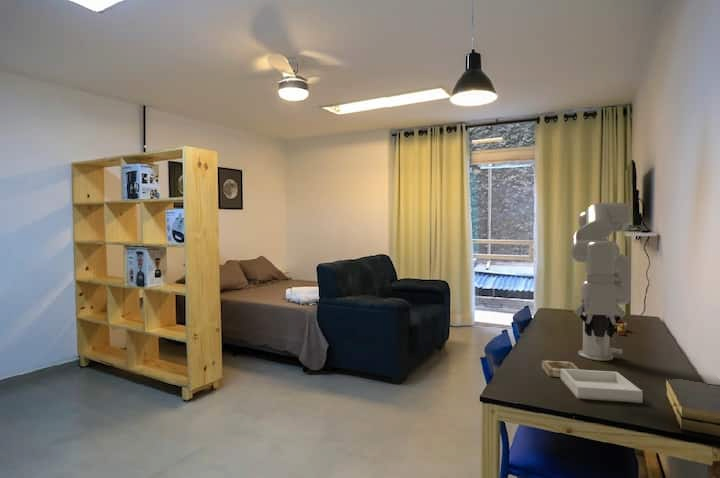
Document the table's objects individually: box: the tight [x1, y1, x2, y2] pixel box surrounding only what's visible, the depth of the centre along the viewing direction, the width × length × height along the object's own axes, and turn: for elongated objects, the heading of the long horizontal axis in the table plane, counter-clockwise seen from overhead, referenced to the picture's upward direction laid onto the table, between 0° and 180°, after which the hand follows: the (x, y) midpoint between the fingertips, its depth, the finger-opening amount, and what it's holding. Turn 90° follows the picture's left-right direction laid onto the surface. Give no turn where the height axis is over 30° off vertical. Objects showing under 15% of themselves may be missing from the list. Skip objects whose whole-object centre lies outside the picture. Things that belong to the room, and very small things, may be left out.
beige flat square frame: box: [541, 359, 580, 378], centre depth 153 cm, size 10×10×2 cm
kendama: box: [614, 318, 628, 336], centre depth 218 cm, size 8×6×18 cm
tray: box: [559, 368, 644, 404], centre depth 136 cm, size 18×18×4 cm
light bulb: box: [590, 315, 609, 345], centre depth 136 cm, size 6×6×10 cm
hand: (599, 335), depth 136 cm, fingers closed on light bulb, 5 cm apart
